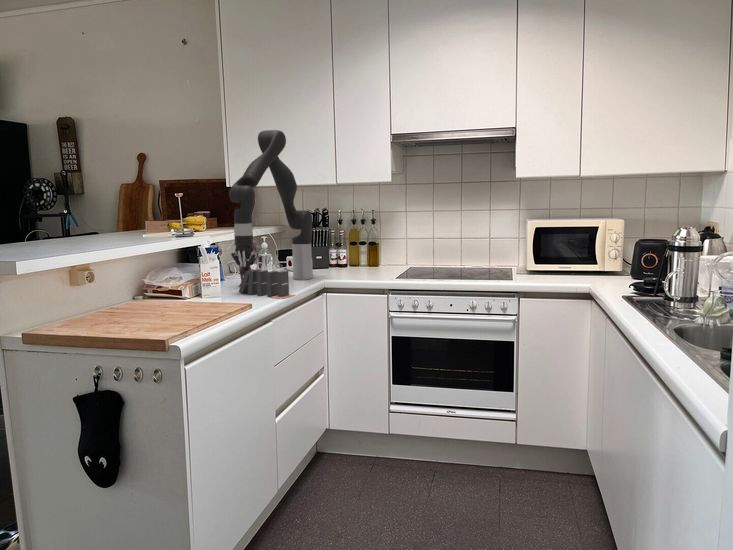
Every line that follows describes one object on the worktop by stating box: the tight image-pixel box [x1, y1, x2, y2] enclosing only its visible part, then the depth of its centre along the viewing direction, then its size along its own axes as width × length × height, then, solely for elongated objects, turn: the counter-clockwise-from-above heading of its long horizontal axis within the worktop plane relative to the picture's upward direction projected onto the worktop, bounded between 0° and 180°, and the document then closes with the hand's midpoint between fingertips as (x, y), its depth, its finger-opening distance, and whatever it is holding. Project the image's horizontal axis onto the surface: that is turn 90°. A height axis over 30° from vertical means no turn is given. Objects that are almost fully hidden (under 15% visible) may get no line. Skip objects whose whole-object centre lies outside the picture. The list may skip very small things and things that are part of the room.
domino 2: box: [247, 268, 262, 296], centre depth 234 cm, size 5×2×10 cm, turn 153°
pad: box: [270, 293, 296, 300], centre depth 228 cm, size 8×6×1 cm
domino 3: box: [256, 269, 269, 297], centre depth 232 cm, size 5×2×10 cm, turn 153°
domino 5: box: [277, 270, 290, 297], centre depth 227 cm, size 5×2×10 cm, turn 153°
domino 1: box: [238, 270, 250, 295], centre depth 235 cm, size 5×2×10 cm, turn 153°
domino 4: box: [266, 270, 279, 298], centre depth 229 cm, size 5×2×10 cm, turn 153°
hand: (245, 275), depth 235 cm, fingers closed
